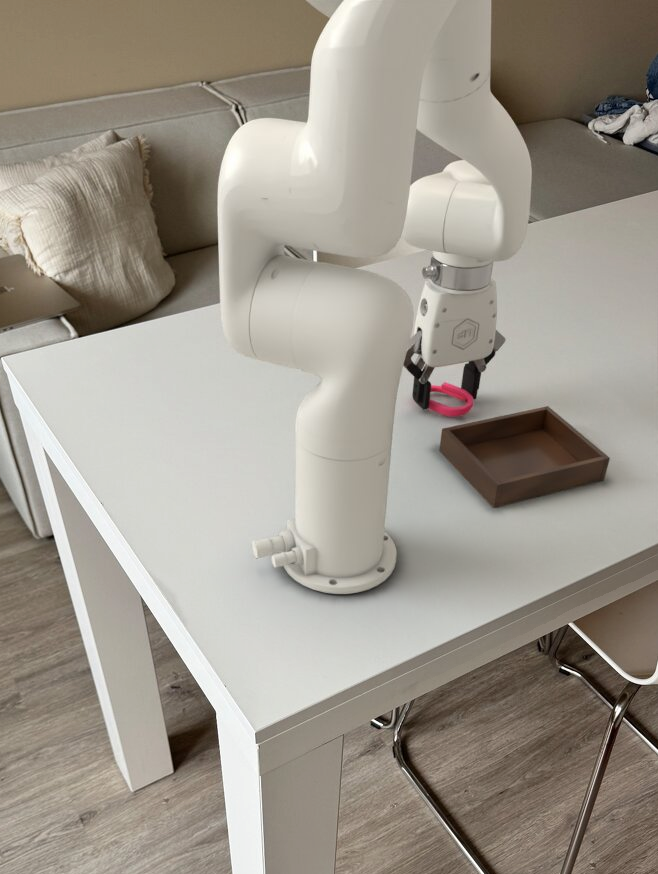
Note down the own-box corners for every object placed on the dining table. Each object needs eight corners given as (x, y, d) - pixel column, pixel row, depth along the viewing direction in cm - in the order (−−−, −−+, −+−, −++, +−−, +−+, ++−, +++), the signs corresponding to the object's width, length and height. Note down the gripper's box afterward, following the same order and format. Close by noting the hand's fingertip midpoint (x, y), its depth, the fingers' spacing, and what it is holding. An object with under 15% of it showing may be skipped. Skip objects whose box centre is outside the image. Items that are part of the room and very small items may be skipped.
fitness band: (480, 405, 122) (482, 395, 121) (457, 422, 119) (459, 411, 118) (432, 386, 126) (433, 376, 125) (408, 401, 123) (409, 391, 122)
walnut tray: (493, 508, 105) (497, 485, 103) (438, 450, 114) (441, 428, 112) (603, 480, 110) (610, 457, 108) (543, 427, 119) (548, 405, 117)
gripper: (412, 293, 105) (400, 425, 117) (537, 273, 110) (513, 401, 122) (385, 269, 110) (376, 398, 122) (505, 251, 115) (485, 376, 127)
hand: (444, 399), depth 122 cm, fingers closed on fitness band, 6 cm apart
